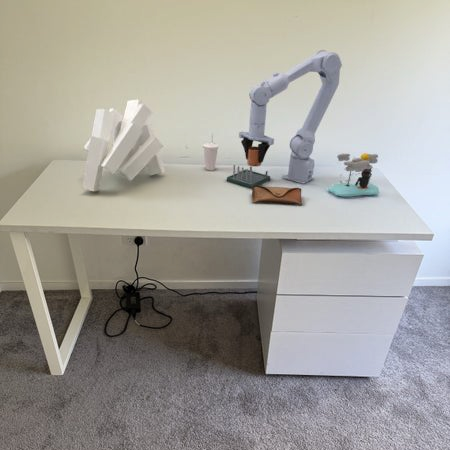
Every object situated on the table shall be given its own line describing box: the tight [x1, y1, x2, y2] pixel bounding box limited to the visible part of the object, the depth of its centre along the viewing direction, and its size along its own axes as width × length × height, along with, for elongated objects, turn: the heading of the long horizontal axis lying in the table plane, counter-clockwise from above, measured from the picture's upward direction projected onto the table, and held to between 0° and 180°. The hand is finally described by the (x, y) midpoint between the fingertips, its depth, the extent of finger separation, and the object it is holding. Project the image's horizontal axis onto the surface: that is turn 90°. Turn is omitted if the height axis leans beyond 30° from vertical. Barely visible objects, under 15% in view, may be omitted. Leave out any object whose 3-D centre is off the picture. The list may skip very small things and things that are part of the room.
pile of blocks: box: [81, 98, 166, 192], centre depth 143 cm, size 35×30×35 cm
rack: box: [226, 164, 271, 190], centre depth 150 cm, size 12×13×6 cm
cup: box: [246, 145, 262, 167], centre depth 147 cm, size 5×5×6 cm
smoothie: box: [202, 133, 219, 171], centre depth 158 cm, size 6×6×14 cm
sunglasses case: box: [251, 185, 303, 206], centre depth 137 cm, size 18×7×7 cm
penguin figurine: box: [327, 152, 380, 198], centre depth 141 cm, size 20×11×15 cm, turn 101°
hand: (254, 160), depth 148 cm, fingers closed on cup, 5 cm apart
